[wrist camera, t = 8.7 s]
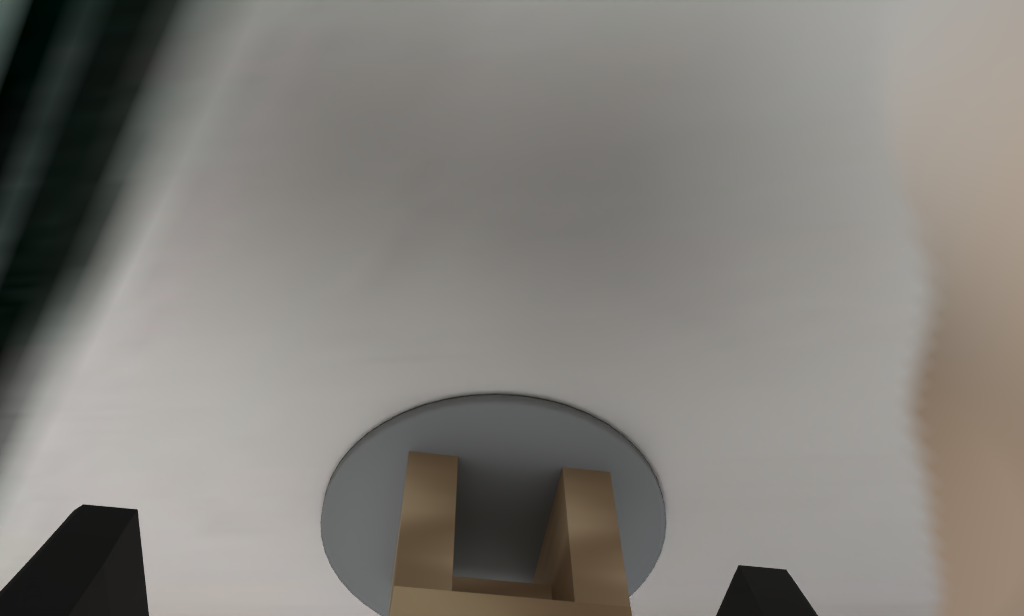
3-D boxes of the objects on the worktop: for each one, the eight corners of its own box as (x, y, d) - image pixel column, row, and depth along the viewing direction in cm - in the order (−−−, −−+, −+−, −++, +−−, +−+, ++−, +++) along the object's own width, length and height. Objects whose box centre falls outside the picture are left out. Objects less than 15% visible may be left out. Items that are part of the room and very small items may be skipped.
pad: (704, 416, 22) (707, 427, 22) (621, 642, 27) (623, 654, 27) (330, 375, 21) (328, 386, 21) (316, 617, 26) (314, 629, 26)
